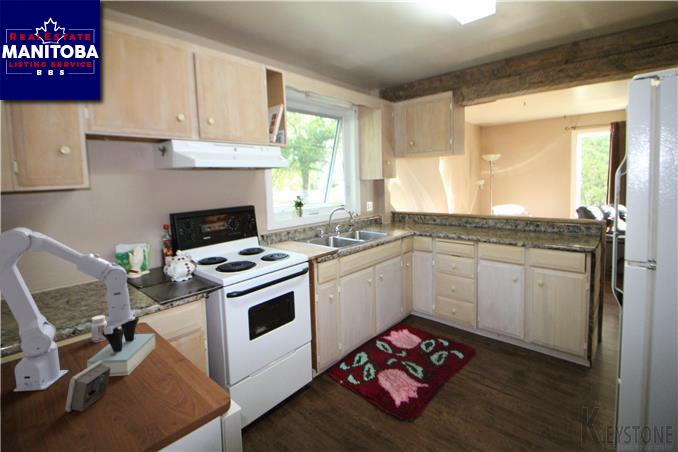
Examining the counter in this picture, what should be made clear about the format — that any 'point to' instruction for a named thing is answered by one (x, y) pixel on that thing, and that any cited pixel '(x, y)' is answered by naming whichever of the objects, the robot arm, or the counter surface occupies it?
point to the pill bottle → (98, 328)
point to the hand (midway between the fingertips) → (123, 346)
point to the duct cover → (127, 350)
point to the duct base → (127, 367)
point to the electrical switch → (87, 386)
